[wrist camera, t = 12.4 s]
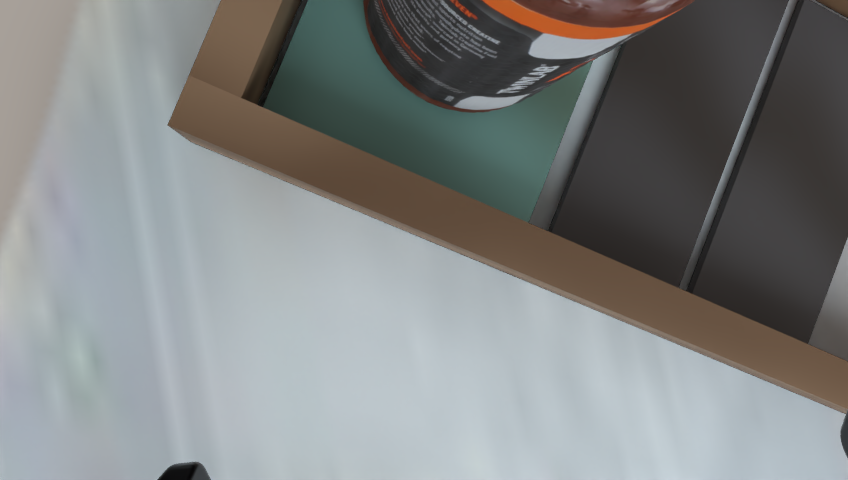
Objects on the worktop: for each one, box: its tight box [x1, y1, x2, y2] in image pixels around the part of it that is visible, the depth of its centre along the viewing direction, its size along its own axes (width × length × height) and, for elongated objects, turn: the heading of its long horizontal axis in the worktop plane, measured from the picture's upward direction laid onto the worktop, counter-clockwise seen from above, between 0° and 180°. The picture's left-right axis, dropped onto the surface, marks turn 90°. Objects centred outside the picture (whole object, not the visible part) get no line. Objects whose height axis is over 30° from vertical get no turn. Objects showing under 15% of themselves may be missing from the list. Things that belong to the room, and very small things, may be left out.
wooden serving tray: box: [168, 0, 848, 414], centre depth 19 cm, size 13×30×3 cm, turn 67°
